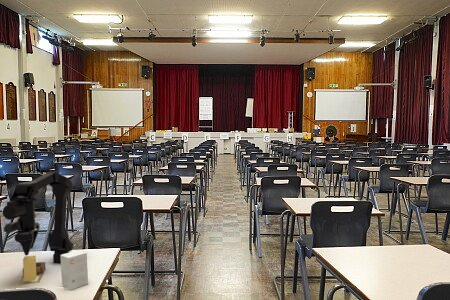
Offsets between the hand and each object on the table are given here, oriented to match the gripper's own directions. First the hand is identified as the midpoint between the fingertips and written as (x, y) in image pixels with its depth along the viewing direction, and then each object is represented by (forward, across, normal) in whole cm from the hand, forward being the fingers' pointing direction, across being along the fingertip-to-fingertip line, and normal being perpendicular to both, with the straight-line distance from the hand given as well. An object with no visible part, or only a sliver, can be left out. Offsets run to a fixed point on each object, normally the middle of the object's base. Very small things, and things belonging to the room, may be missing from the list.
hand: (28, 251), depth 167 cm
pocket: (+13, -9, 0) cm, 16 cm away
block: (+11, 0, 0) cm, 11 cm away
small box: (+13, +10, +18) cm, 24 cm away
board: (+13, -4, 0) cm, 13 cm away
